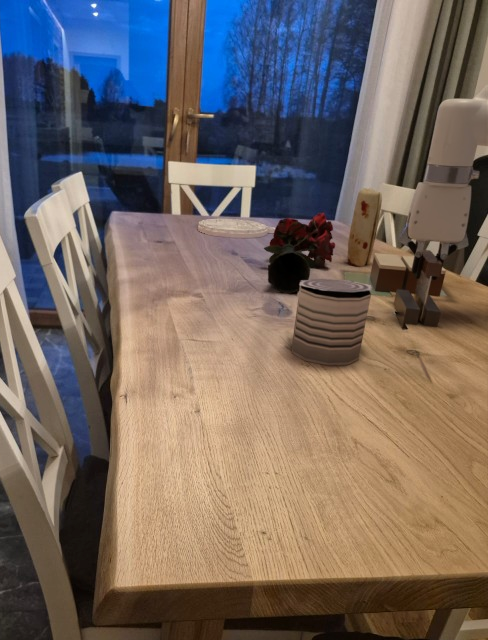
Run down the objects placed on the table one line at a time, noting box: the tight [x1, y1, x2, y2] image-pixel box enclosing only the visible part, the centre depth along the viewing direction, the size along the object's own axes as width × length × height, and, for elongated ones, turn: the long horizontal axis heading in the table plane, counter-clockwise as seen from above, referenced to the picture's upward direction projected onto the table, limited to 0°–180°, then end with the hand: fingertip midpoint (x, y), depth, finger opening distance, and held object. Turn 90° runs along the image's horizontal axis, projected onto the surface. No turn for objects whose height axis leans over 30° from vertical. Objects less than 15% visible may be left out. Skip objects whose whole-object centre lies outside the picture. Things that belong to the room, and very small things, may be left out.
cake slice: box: [369, 252, 406, 294], centre depth 134 cm, size 6×13×6 cm, turn 169°
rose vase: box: [263, 212, 336, 294], centre depth 140 cm, size 16×18×35 cm
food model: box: [347, 187, 383, 267], centre depth 151 cm, size 10×7×20 cm
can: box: [291, 278, 373, 367], centre depth 93 cm, size 11×11×12 cm
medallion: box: [197, 218, 276, 239], centre depth 194 cm, size 24×27×2 cm
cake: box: [400, 255, 447, 297], centre depth 133 cm, size 8×13×6 cm, turn 169°
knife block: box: [393, 289, 442, 330], centre depth 114 cm, size 14×6×4 cm, turn 169°
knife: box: [413, 249, 442, 322], centre depth 112 cm, size 12×2×11 cm, turn 169°
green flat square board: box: [343, 271, 448, 298], centre depth 135 cm, size 22×20×1 cm
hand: (424, 276), depth 111 cm, fingers closed on knife, 2 cm apart
